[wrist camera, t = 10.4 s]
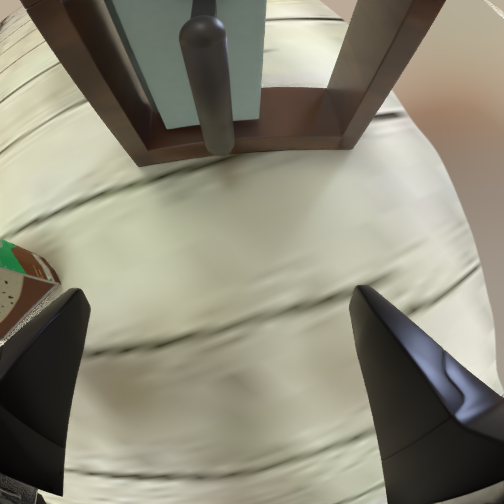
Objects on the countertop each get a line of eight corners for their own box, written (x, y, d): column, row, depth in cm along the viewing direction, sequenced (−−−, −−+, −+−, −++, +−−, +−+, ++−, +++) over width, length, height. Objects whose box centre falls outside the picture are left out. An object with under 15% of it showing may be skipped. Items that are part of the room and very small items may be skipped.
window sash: (257, 111, 15) (267, -56, 4) (266, 172, 15) (295, -21, 4) (167, 121, 15) (107, -30, 4) (164, 183, 15) (61, 24, 3)
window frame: (337, 103, 18) (406, -64, 3) (352, 149, 18) (463, -30, 2) (143, 118, 18) (61, -49, 3) (138, 167, 17) (11, -13, 2)
